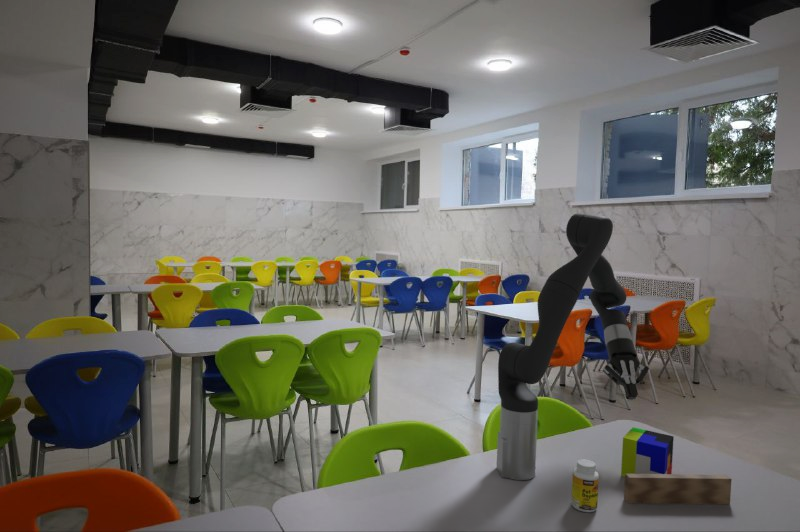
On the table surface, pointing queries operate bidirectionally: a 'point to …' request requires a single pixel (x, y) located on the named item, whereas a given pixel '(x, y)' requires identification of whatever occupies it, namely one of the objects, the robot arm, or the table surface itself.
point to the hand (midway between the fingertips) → (632, 398)
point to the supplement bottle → (585, 486)
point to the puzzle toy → (646, 452)
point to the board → (677, 488)
